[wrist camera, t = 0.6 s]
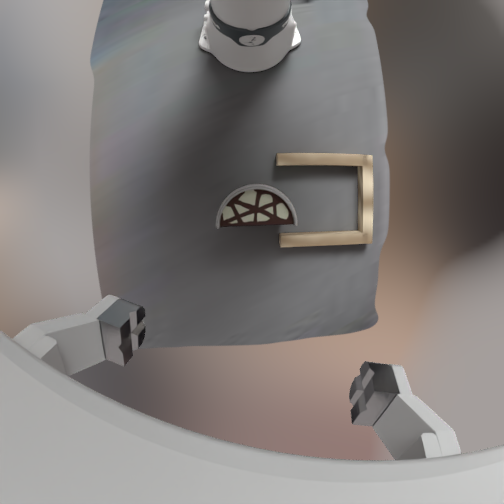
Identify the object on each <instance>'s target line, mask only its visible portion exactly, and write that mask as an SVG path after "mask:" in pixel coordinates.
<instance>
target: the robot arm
mask: <svg viewBox="0 0 504 504" xmlns="http://www.w3.org/2000/svg"><path fill="white" fill-rule="evenodd" d="M291 5H292V4H291V0H207V1H206V2H205V10H206V11H207V14H205V15H204V25H203V28H202V32H201V36H200V40H199V46H200V48H201V49H203V50H205V51H208V52H210V53H212V54H213V55H214V56H215V57H216V58H217V59H218V60H219V61H220V62H221V63H222V64H224V65H225V66H227V67H229V68H231V69H234V70H237V71H243V72H257V71H262V70H266V69H269V68H271V67H273V66H275V65H276V64H277V63H279V62H280V61H281V60H282V59H283V58H284V56H285V55H286V54H287V52H288V51H289V50H291V49H293V48H295V47H297V46H298V45H299V44H300V43H301V38H300V35H299V32H298V30H297V27H296V22H295V21H294V19H293V17H292V14H291V11H292V10H291V9H292V8H291ZM294 35H295V36H294ZM205 38H206V39H205ZM144 317H145V309H144V307H143V306H140V305H137V304H134V303H132V302H129V301H127V300H124V299H120V298H118V297H116V296H113V295H107V296H106V297H105V298H103V299H102V300H101V301H100V302H99V303H97V304H96V305H95V306H94V307H93V308H91V309H90V310H89V311H88V312H87V313H86V314H84V313H79V314H74V315H69V316H65V317H61V318H56V319H51V320H47V321H43V322H38V323H33V324H30V325H29V326H28V327H26V328H25V329H24V330H23V331H21V332H20V333H19V334H18V335H17V336H15V337H14V338H13V339H11V338H10V337H9V336H7V335H6V334H5V333H4V332H2V331H1V330H0V504H504V445H500V446H496V447H492V448H488V449H484V450H479V451H474V452H469V453H463V454H462V453H461V450H460V447H459V444H458V441H457V438H456V435H455V432H454V430H453V429H452V428H451V427H450V426H449V425H448V424H446V423H445V422H444V421H443V420H442V419H441V418H440V417H439V416H438V415H437V414H436V413H435V412H433V411H432V410H431V409H430V408H429V407H428V406H427V405H426V404H425V403H424V402H422V401H421V400H420V399H419V398H418V397H417V396H416V395H412V392H411V388H410V385H409V383H408V380H407V377H406V374H405V371H404V369H403V367H402V366H401V365H392V364H389V365H388V364H380V363H373V362H366V361H365V362H364V364H362V366H361V368H360V375H359V376H358V377H355V379H354V381H353V383H352V385H351V388H350V393H349V399H350V402H351V403H352V404H353V408H352V409H351V418H352V424H354V425H364V426H373V429H374V430H375V432H376V433H377V434H378V436H379V437H380V439H381V440H382V442H383V443H384V444H385V446H386V448H387V449H388V450H389V452H390V453H391V455H392V456H393V458H394V459H395V460H377V461H376V460H374V461H373V460H345V459H330V458H319V457H310V456H302V455H294V454H288V453H281V452H275V451H270V450H265V449H259V448H255V447H250V446H245V445H241V444H237V443H233V442H229V441H225V440H221V439H217V438H213V437H210V436H207V435H203V434H200V433H197V432H194V431H190V430H187V429H184V428H181V427H179V426H175V425H173V424H170V423H167V422H164V421H162V420H159V419H156V418H154V417H151V416H149V415H146V414H144V413H142V412H139V411H137V410H134V409H132V408H130V407H128V406H125V405H123V404H121V403H119V402H117V401H114V400H112V399H110V398H108V397H106V396H104V395H102V394H100V393H98V392H96V391H94V390H92V389H90V388H88V387H86V386H85V385H83V384H81V383H79V382H77V381H75V380H74V379H72V378H70V377H69V376H70V375H72V374H74V373H77V372H79V371H81V370H84V369H86V368H88V367H90V366H93V365H95V364H97V363H99V362H101V361H104V360H105V359H107V360H109V361H112V362H114V363H117V364H119V365H122V366H125V365H126V364H127V362H128V361H129V360H130V359H131V358H132V356H133V352H132V351H133V350H136V349H139V347H140V346H141V345H142V343H143V340H144V338H145V332H146V326H145V324H144V323H143V321H142V320H143V319H144Z"/></svg>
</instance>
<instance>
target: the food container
mask: <svg viewBox="0 0 504 504" xmlns="http://www.w3.org/2000/svg"><path fill="white" fill-rule="evenodd" d="M284 224H293V225H295V226H296V225H298V220H297V215H296V211H295V209H294V206H293V205H292V203H291V201H290V200H289V199H288V198H287V197H286V195H284V194H283V193H282V192H281V191H279V190H278V189H276V188H274V187H271V186H269V185H264V184H250V185H246V186H242V187H240V188H238V189H236V190H235V191H233V192H232V193H230V194H229V195H228V196H227V197H226V198H225V200H224V201H223V202H222V204H221V206H220V208H219V210H218V213H217V217H216V228H218V229H219V228H220V227H227V226H259V225H284Z"/></svg>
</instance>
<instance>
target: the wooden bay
mask: <svg viewBox="0 0 504 504" xmlns="http://www.w3.org/2000/svg"><path fill="white" fill-rule="evenodd" d="M276 162H277V166H294V165H327V166H358V230H357V231H326V232H299V233H279V245H280V247H303V246H325V245H348V244H371V243H372V233H373V161H372V155H359V154H334V153H277V154H276Z"/></svg>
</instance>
